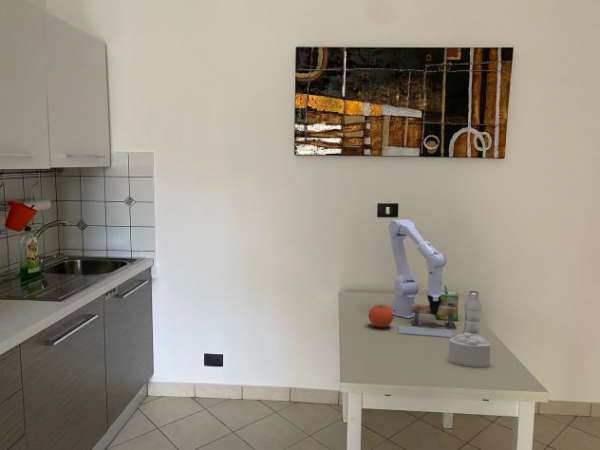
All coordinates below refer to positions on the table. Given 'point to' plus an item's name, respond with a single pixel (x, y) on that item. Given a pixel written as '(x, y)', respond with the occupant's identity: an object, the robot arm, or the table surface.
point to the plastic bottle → (472, 314)
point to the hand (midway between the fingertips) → (433, 313)
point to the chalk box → (449, 303)
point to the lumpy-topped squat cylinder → (469, 350)
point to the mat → (424, 332)
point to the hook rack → (447, 324)
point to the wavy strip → (426, 309)
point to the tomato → (380, 315)
